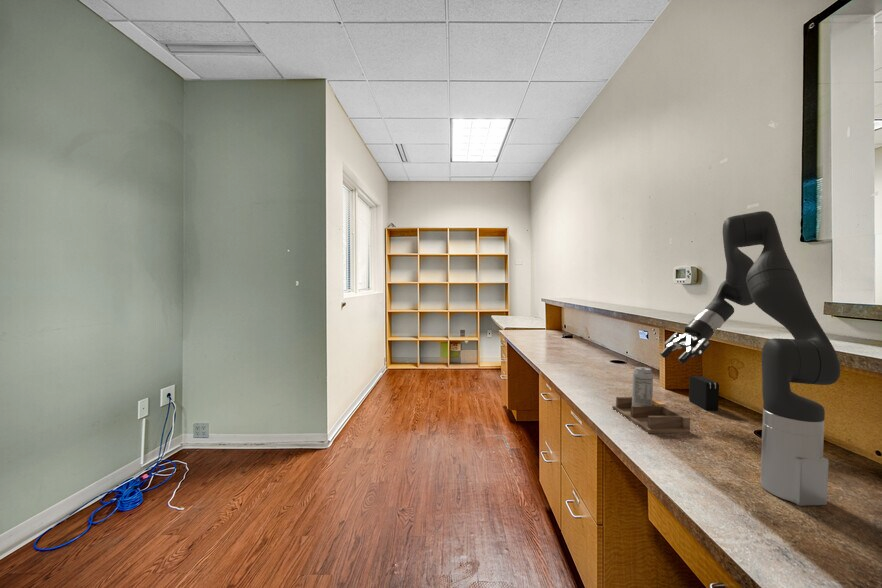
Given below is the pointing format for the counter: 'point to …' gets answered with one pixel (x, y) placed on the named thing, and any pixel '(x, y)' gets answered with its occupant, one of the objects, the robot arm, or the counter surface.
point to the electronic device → (704, 392)
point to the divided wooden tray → (653, 416)
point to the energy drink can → (642, 387)
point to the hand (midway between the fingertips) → (671, 359)
